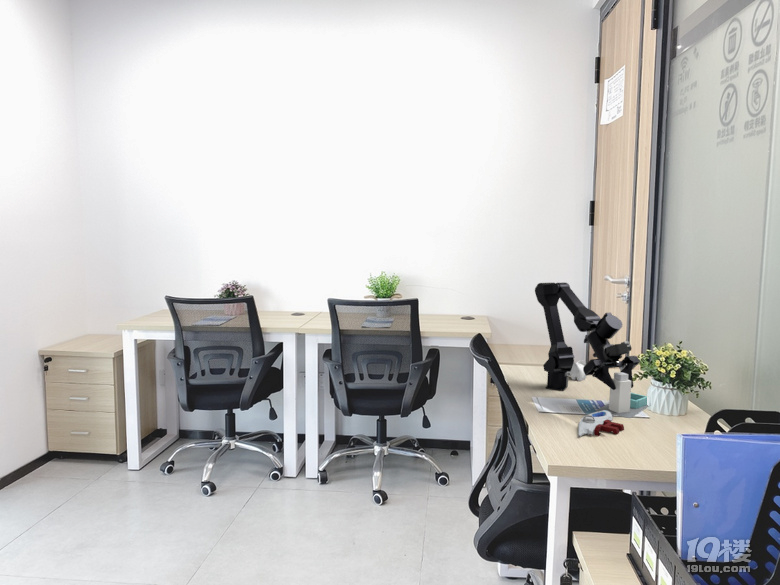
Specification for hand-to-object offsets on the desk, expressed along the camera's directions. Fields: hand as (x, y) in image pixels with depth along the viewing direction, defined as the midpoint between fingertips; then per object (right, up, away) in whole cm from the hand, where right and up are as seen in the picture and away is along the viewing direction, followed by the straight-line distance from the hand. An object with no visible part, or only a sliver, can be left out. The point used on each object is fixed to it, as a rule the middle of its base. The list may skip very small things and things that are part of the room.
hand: (623, 388), depth 196 cm
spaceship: (-13, -10, -11) cm, 20 cm away
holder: (+6, -7, +10) cm, 13 cm away
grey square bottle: (-1, -7, +2) cm, 8 cm away
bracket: (-10, -11, -16) cm, 22 cm away
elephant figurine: (-2, -4, +45) cm, 45 cm away
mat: (+3, -8, +6) cm, 10 cm away
